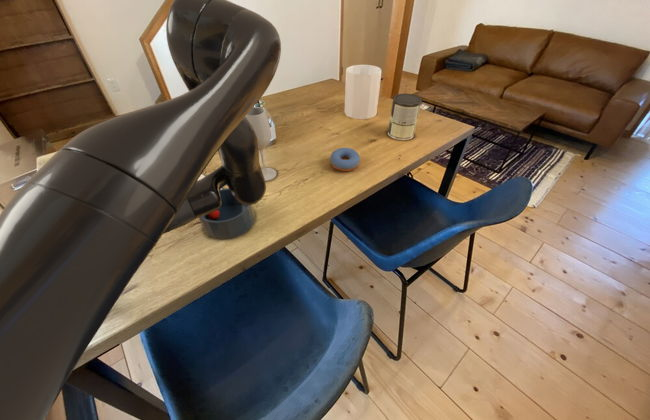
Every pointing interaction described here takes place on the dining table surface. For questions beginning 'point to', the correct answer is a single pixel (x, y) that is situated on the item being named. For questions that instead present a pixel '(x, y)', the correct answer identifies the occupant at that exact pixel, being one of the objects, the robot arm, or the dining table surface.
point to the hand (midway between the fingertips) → (61, 252)
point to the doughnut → (344, 154)
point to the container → (362, 91)
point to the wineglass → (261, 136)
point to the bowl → (229, 218)
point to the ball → (214, 215)
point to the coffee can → (404, 116)
